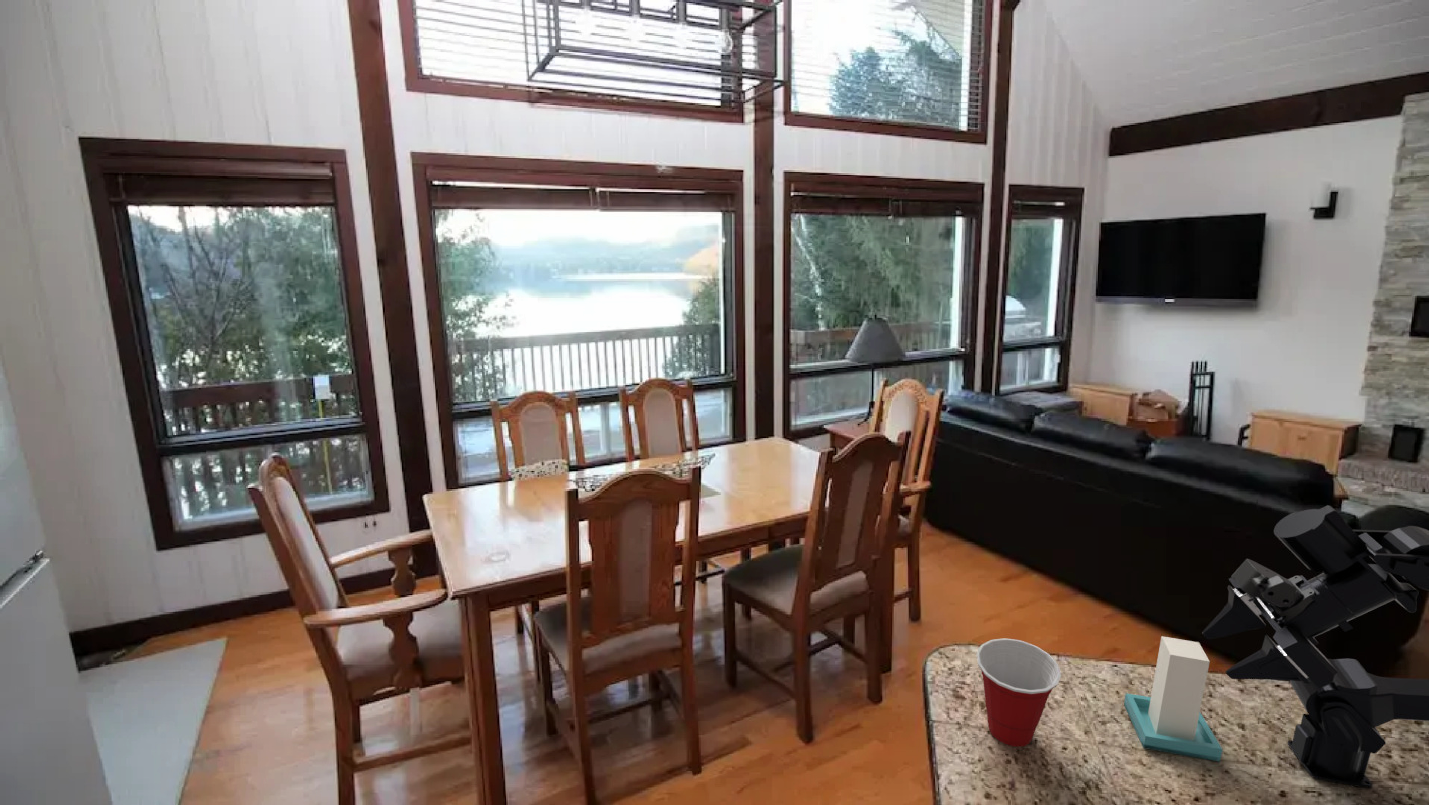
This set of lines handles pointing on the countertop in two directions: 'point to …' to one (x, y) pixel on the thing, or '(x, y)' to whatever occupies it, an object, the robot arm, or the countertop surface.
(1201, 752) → the teal dish
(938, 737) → the countertop surface
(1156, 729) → the cream block
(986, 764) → the countertop surface
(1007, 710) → the plastic cup
